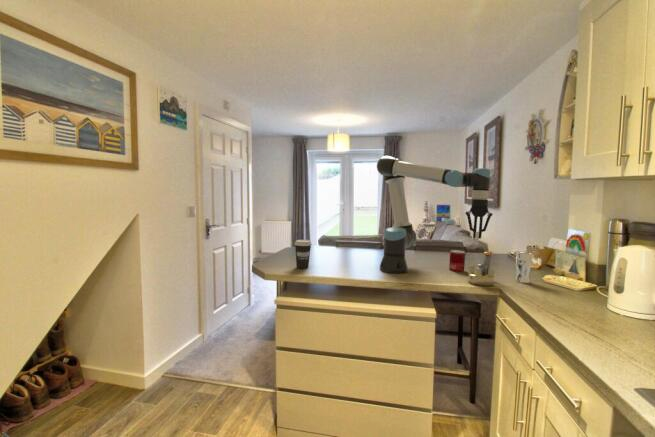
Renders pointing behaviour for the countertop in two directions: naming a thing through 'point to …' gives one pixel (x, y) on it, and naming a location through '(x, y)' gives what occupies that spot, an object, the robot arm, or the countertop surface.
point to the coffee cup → (302, 253)
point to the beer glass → (523, 266)
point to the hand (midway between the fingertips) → (476, 244)
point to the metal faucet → (482, 272)
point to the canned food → (457, 260)
